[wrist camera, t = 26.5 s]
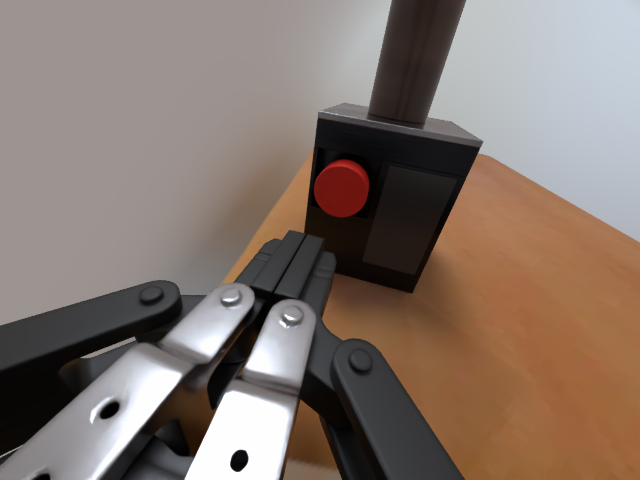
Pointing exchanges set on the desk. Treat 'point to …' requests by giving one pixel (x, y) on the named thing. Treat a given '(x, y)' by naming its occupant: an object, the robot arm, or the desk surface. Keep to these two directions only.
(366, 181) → the button
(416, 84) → the pepper grinder
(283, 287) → the robot arm
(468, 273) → the desk surface
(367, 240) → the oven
